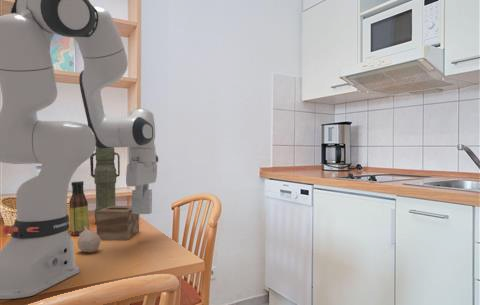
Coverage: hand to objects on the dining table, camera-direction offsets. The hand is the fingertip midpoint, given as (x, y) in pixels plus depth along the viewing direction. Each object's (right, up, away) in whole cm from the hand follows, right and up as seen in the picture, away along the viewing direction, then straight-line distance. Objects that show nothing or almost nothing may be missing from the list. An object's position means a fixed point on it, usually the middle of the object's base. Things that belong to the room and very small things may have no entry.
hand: (142, 197), depth 111 cm
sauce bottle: (-27, -15, +11) cm, 33 cm away
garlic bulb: (-13, -16, -11) cm, 23 cm away
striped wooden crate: (-11, -15, +8) cm, 20 cm away
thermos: (-25, -15, +30) cm, 42 cm away
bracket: (0, -5, 0) cm, 5 cm away
